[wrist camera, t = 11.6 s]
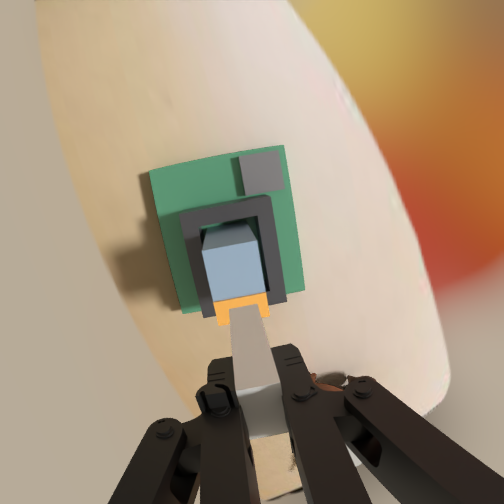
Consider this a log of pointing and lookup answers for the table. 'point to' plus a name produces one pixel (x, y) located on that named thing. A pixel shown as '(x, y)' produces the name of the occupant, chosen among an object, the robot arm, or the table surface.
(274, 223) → the circuit board
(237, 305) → the plug
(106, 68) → the table surface
